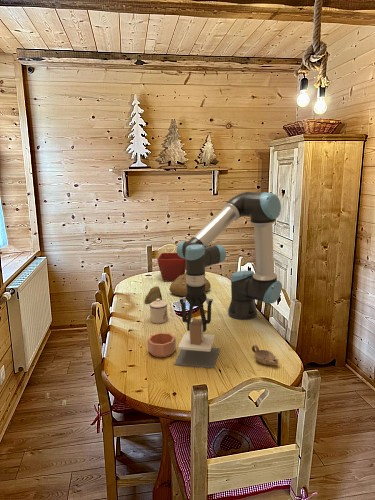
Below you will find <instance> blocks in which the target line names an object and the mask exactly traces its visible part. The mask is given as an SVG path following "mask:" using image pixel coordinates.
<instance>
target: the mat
mask: <svg viewBox="0 0 375 500" xmlns="http://www.w3.org/2000/svg"><path fill="white" fill-rule="evenodd" d="M219 352H220V347H212V348H211V351H210V352H208V351H195V350H183V349H180V351H179V353H178V354H177V355H178V356H177V358H176V360H175V362H174V366H179V367H189V366H190V367H193V368H200V367H203V368H202V369H211V368H214V369H215V367H214V366H216V362H217V359H218V356H219Z"/></svg>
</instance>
